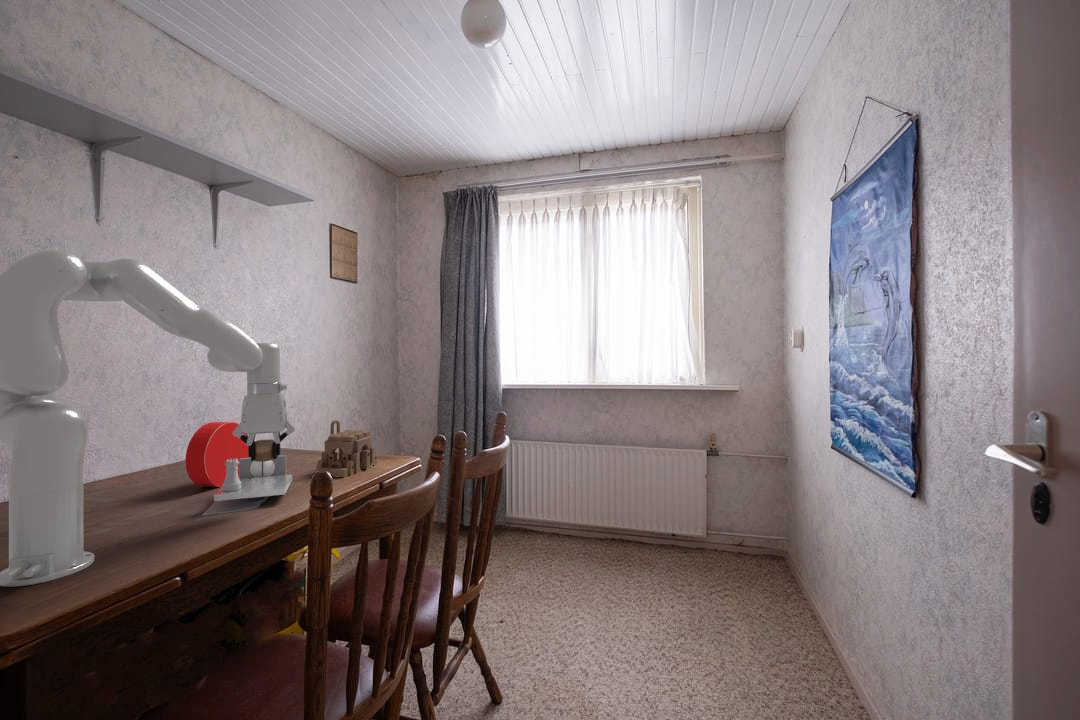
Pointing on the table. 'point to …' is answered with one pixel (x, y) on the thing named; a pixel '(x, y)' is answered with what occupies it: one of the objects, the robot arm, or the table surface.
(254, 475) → the scale base
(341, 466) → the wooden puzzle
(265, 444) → the tan cylinder
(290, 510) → the table surface
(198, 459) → the red thick disc
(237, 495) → the pan
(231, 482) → the rook chess piece
